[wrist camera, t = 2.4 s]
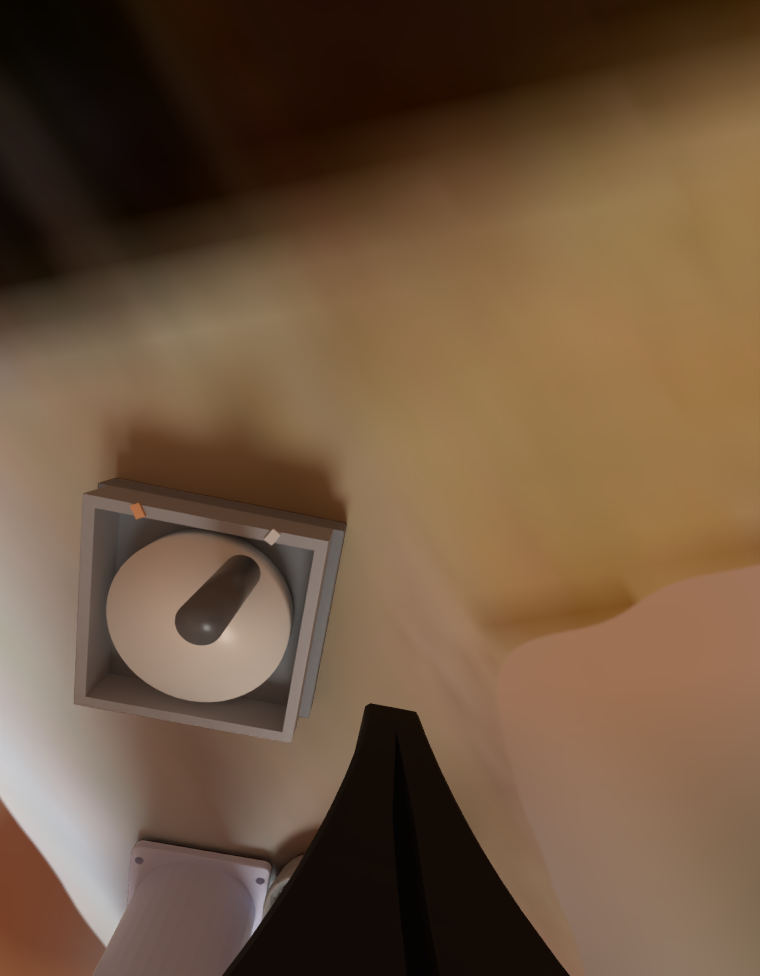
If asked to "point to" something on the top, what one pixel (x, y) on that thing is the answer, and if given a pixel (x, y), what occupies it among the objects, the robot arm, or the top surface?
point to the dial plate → (161, 511)
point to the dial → (200, 615)
